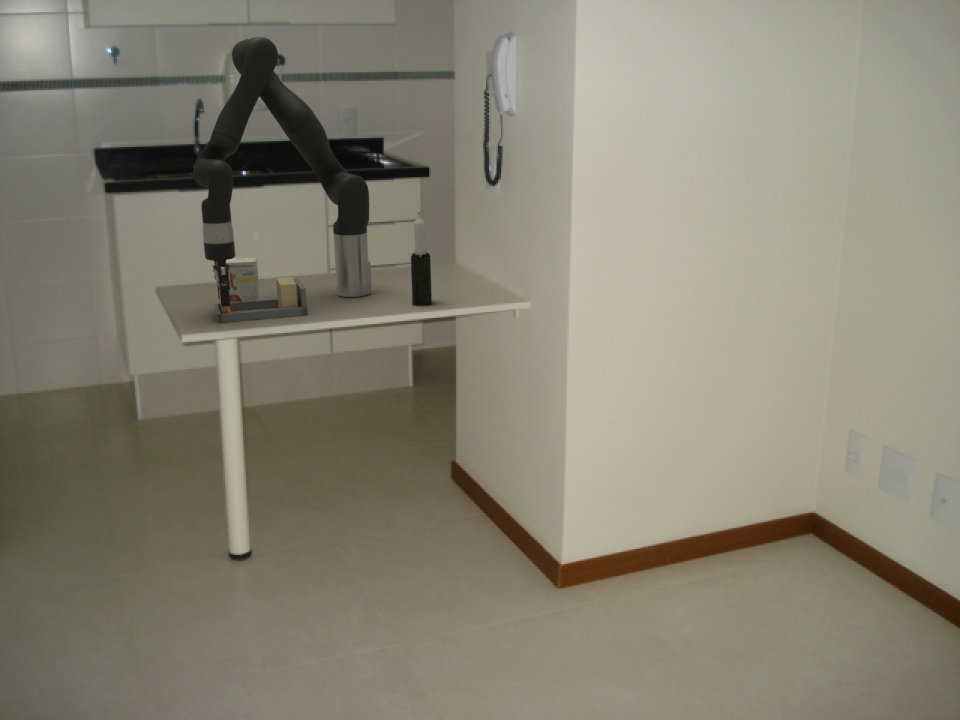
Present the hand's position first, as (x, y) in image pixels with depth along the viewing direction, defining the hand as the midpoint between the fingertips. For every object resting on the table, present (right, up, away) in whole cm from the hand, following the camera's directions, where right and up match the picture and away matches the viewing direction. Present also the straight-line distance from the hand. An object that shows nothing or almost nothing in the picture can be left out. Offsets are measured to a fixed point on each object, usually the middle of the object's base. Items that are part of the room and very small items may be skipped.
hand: (224, 302), depth 257 cm
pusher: (0, -3, +1) cm, 3 cm away
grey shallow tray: (+8, -3, +4) cm, 10 cm away
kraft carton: (+15, -2, +6) cm, 16 cm away
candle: (+50, 0, +12) cm, 51 cm away
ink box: (+1, +1, +16) cm, 16 cm away
